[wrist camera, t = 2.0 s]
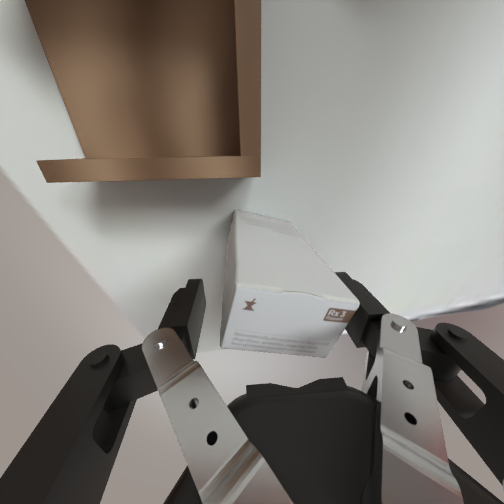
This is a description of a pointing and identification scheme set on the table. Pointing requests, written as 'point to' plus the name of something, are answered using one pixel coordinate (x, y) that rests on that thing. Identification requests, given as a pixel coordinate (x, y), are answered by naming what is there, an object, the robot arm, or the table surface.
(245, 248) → the skincare box
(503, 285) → the table surface
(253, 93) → the u rest
